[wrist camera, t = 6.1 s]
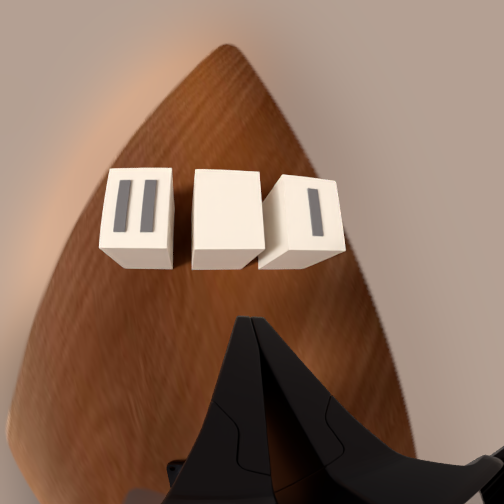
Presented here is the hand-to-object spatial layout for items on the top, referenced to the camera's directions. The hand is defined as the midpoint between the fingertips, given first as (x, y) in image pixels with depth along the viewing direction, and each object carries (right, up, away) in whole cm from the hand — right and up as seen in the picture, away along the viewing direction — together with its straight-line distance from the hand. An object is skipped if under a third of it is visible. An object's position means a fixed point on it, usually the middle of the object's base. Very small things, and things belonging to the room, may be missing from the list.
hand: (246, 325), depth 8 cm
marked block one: (+3, +3, +15) cm, 16 cm away
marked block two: (-8, +3, +13) cm, 16 cm away
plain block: (-3, +3, +14) cm, 15 cm away
